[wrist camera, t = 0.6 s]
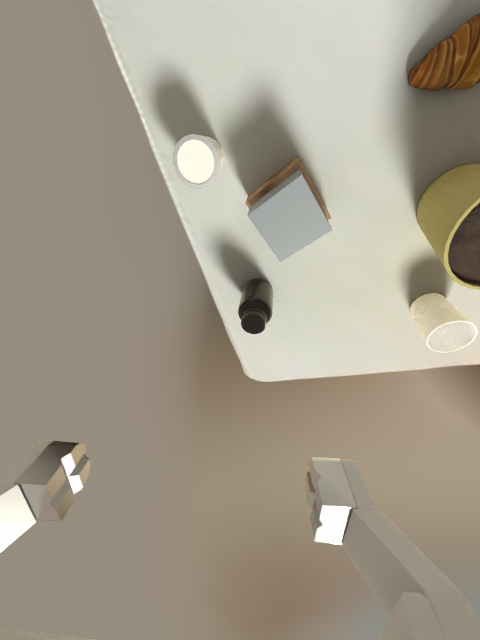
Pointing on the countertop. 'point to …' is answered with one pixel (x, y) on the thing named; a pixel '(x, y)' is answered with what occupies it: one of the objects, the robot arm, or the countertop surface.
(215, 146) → the white piece
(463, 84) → the croissant
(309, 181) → the bottom block
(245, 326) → the supplement bottle
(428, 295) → the white cup
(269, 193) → the top block
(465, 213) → the potted cactus
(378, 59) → the countertop surface
